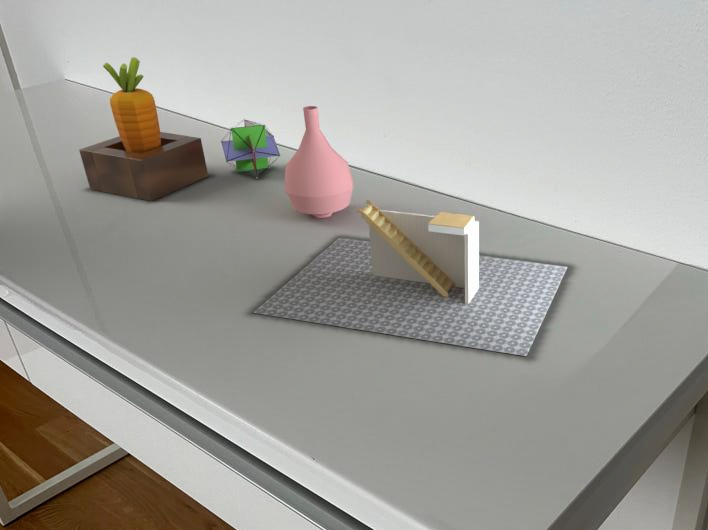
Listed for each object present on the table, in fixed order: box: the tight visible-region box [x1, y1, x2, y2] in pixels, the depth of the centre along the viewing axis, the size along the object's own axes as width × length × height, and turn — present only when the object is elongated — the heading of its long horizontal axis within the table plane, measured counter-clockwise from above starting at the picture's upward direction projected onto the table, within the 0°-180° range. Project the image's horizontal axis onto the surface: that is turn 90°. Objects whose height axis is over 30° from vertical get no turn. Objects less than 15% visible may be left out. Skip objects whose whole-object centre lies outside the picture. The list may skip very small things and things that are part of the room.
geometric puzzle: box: [220, 118, 282, 179], centre depth 97 cm, size 7×7×8 cm
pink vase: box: [284, 105, 355, 219], centre depth 83 cm, size 8×8×12 cm
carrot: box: [102, 56, 161, 154], centre depth 91 cm, size 5×5×15 cm
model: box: [356, 199, 481, 304], centre depth 69 cm, size 3×11×8 cm, turn 74°
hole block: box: [78, 131, 209, 202], centre depth 94 cm, size 10×10×5 cm
